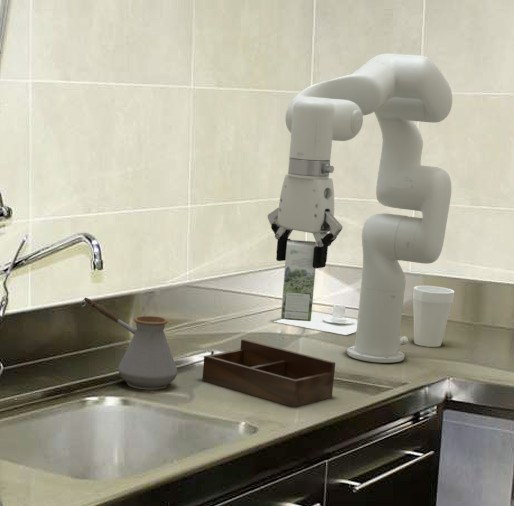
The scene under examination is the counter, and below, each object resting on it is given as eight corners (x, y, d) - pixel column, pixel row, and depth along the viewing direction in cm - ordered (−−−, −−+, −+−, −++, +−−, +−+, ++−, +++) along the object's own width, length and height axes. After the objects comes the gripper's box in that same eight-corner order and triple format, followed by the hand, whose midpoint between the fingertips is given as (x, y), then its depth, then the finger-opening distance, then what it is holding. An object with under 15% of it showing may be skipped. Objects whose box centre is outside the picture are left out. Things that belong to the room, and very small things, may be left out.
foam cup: (453, 344, 290) (460, 290, 286) (439, 350, 282) (446, 295, 279) (416, 337, 294) (422, 284, 291) (401, 343, 287) (407, 288, 283)
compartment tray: (241, 372, 250) (244, 338, 248) (332, 397, 235) (335, 362, 233) (202, 380, 241) (204, 346, 240) (293, 407, 226) (296, 370, 224)
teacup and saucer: (344, 327, 300) (345, 311, 299) (315, 322, 304) (316, 306, 303) (359, 322, 307) (360, 306, 306) (330, 317, 312) (332, 301, 310)
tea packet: (311, 315, 233) (317, 240, 229) (311, 322, 228) (317, 244, 224) (281, 313, 234) (286, 238, 230) (280, 320, 228) (286, 242, 224)
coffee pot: (187, 384, 238) (192, 308, 234) (158, 396, 228) (162, 317, 224) (94, 365, 247) (98, 293, 243) (63, 376, 238) (66, 300, 234)
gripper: (359, 173, 220) (350, 269, 225) (284, 163, 231) (277, 255, 236) (334, 174, 215) (325, 273, 220) (259, 164, 226) (252, 258, 231)
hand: (300, 263), depth 228 cm, fingers closed on tea packet, 8 cm apart
